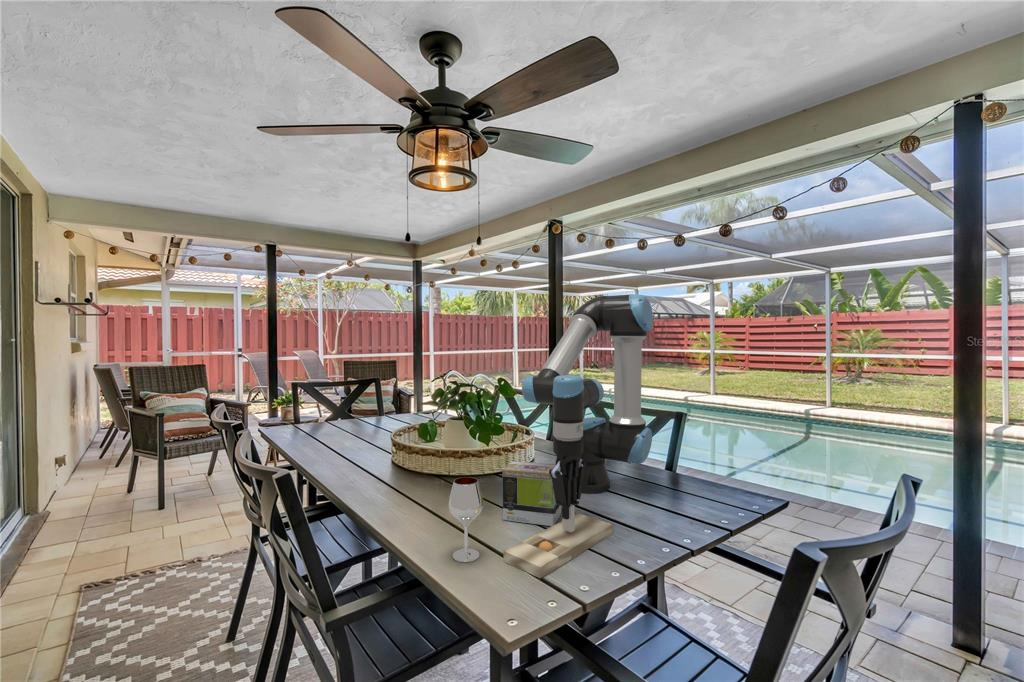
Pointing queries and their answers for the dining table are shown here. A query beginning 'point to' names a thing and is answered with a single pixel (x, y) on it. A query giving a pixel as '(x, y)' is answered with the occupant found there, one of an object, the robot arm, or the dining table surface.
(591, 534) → the board
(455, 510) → the wineglass
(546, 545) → the ball
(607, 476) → the robot arm
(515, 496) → the tea box
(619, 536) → the dining table surface
